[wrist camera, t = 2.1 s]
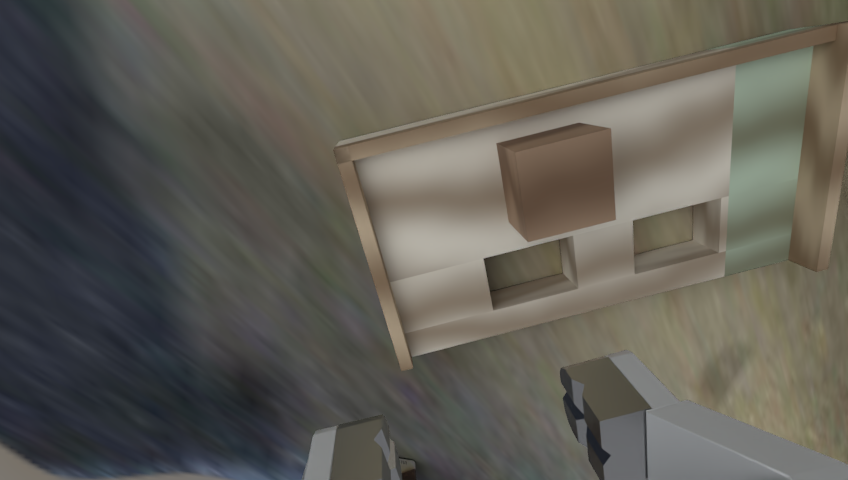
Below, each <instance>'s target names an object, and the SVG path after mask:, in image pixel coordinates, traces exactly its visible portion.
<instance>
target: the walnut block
mask: <svg viewBox="0 0 848 480" xmlns="http://www.w3.org/2000/svg"><path fill="white" fill-rule="evenodd" d="M496 145H497V151H498V157H499V163H500V170H501V176H502V182H503V189H504V195H505V201H506V207H507V214H508V220H509V223H510V224H511V225H512V226H513V227H514V228H515V229H516V230H517V231H518V232H519V233H520V234H521V236H522V237H523V238H524V239H525V240H526V241H527V242H531V241H535V240H539V239H543V238H547V237H551V236H555V235H559V234H563V233H566V232H570V231H574V230H578V229H582V228H586V227H590V226H594V225H598V224H602V223H606V222H610V221H614V220H616V211H615V192H614V174H613V155H612V137H611V128H606V127H601V126H595V125H590V124H584V123H575V124H571V125H567V126H563V127H559V128H555V129H551V130H547V131H543V132H539V133H535V134H532V135H528V136H524V137H520V138H516V139H512V140H508V141H504V142H500V143H496Z"/></svg>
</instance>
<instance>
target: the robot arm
mask: <svg viewBox="0 0 848 480" xmlns="http://www.w3.org/2000/svg"><path fill="white" fill-rule="evenodd" d="M560 378H561V383H562V385H563V386H564V388H565V390H566V391H567V392H566V394H565V396H564V397H563V401H564V407H565V412H566V415H567V418H568V421H569V424H570V426H571V429H572V431H573V433H574V435H575V437H576V438H577V440H578V442H579V443H581V444H582V445H584V446H586V447H587V448H588V457H589V462H590V463H591V465H592V467H593V469H594V470H595V472H596V474H597V476H598V477H599V479H600V480H848V465H847V464H845V463H843V462H841V461H838V460H836V459H833V458H831V457H828V456H826V455H823V454H821V453H818V452H816V451H813V450H811V449H808V448H806V447H803V446H801V445H798V444H796V443H793V442H791V441H788V440H786V439H783V438H781V437H778V436H776V435H773V434H771V433H768V432H766V431H763V430H761V429H758V428H756V427H753V426H751V425H748V424H746V423H744V422H741V421H739V420H736V419H734V418H731V417H729V416H726V415H724V414H721V413H719V412H716V411H714V410H711V409H709V408H706V407H704V406H701V405H699V404H696V403H694V402H691V401H689V400H685V401H681V402H680V401H679V400H678V399H677V398H676V397H675V396H674V395H673V394H672V393H671V392H670V391H669V390H668V389H667V388H666V387H665V386H664V385H663V384H662V383H661V382H660V380H659V379H658V378H657V377H656V376H655V375H654V374H653V373H652V372H651V371H650V370H649V369H648V368H647V367H646V366H645V365H644V364H643V363H642V362H641V361H640V360H639V359H638V358H637V357H636V356H635V355H634V354H633V353H632V352H631V351H629V350H624V351H620V352H617V353H613V354H609V355H606V356H604V357H599V358H596V359H592V360H588V361H585V362H581V363H577V364H573V365H570V366H566V367H562V368H561V370H560ZM304 480H402V472H401V466H400V460H399V456H398V452H397V449H396V446H395V443H394V442H393V441H392V440H390V435H389V425H388V423H387V420H386V418H385V416H384V415H383V414H382V415H378V416H374V417H370V418H365V419H361V420H357V421H352V422H348V423H344V424H340V425H338V426H334V427H329V428H325V429H320V430H316V432H315V434H314V435H313V437H312V442H311V448H310V453H309V458H308V463H307V469H306V474H305V479H304Z"/></svg>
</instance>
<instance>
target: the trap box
mask: <svg viewBox="0 0 848 480" xmlns="http://www.w3.org/2000/svg"><path fill="white" fill-rule="evenodd" d="M575 123H584V124H590V125H595V126H601V127H606V128H611V137H612V155H613V174H614V192H615V211H616V220H614V221H610V222H606V223H602V224H598V225H594V226H590V227H586V228H582V229H578V230H574V231H570V232H566V233H563V234H559V235H555V236H551V237H547V238H543V239H539V240H535V241H531V242H527V241H526V240H525V239H524V238H523V237H522V236H521V234H520V233H519V232H518V231H517V230H516V229H515V228H514V227H513V226H512V225H511V224H510V223H509V220H508V214H507V207H506V201H505V195H504V189H503V182H502V176H501V170H500V163H499V157H498V151H497V145H496V143H500V142H504V141H508V140H512V139H516V138H520V137H524V136H528V135H532V134H535V133H539V132H543V131H547V130H551V129H555V128H559V127H563V126H567V125H571V124H575ZM847 148H848V21H847V22H840V23H833V24H825V25H818V26H811V27H804V28H797V29H789V30H785V31H781V32H777V33H773V34H769V35H765V36H761V37H757V38H753V39H749V40H744V41H740V42H736V43H732V44H728V45H724V46H720V47H716V48H712V49H708V50H704V51H700V52H696V53H692V54H688V55H684V56H680V57H676V58H672V59H668V60H664V61H660V62H656V63H652V64H648V65H644V66H640V67H636V68H632V69H628V70H624V71H620V72H616V73H612V74H608V75H604V76H600V77H596V78H592V79H588V80H584V81H580V82H575V83H571V84H567V85H563V86H559V87H555V88H551V89H547V90H543V91H539V92H535V93H531V94H527V95H523V96H519V97H515V98H511V99H507V100H503V101H499V102H495V103H491V104H487V105H483V106H479V107H475V108H471V109H467V110H463V111H459V112H455V113H451V114H447V115H443V116H439V117H435V118H431V119H427V120H423V121H419V122H415V123H411V124H406V125H402V126H398V127H394V128H390V129H386V130H382V131H378V132H374V133H370V134H366V135H362V136H358V137H354V138H350V139H346V140H342V141H339V142H338V144H337V145H336V147H335V148H334V149H333V151H334V154H335V158H336V161H337V164H338V167H339V171H340V174H341V177H342V180H343V184H344V187H345V190H346V193H347V196H348V200H349V203H350V206H351V209H352V213H353V216H354V219H355V222H356V226H357V229H358V232H359V235H360V238H361V242H362V245H363V248H364V251H365V255H366V258H367V261H368V264H369V268H370V271H371V274H372V277H373V280H374V284H375V287H376V290H377V293H378V297H379V300H380V303H381V306H382V310H383V313H384V316H385V319H386V322H387V326H388V329H389V332H390V335H391V339H392V342H393V345H394V348H395V352H396V355H397V358H398V361H399V364H400V368H401V371H404V370H408V369H412V368H413V363H412V357H414V356H418V355H422V354H426V353H429V352H433V351H437V350H441V349H445V348H449V347H453V346H457V345H460V344H464V343H468V342H472V341H476V340H480V339H484V338H488V337H491V336H495V335H499V334H503V333H507V332H511V331H515V330H519V329H522V328H526V327H530V326H534V325H538V324H542V323H546V322H550V321H553V320H557V319H561V318H565V317H569V316H573V315H577V314H581V313H584V312H588V311H592V310H596V309H600V308H604V307H608V306H612V305H615V304H619V303H623V302H627V301H631V300H635V299H639V298H643V297H646V296H650V295H654V294H658V293H662V292H666V291H670V290H674V289H677V288H681V287H685V286H689V285H693V284H697V283H701V282H705V281H708V280H712V279H716V278H720V277H724V276H728V275H732V274H736V273H740V272H743V271H747V270H751V269H755V268H759V267H763V266H767V265H771V264H774V263H778V262H782V261H786V260H789V261H792V262H794V263H797V264H799V265H801V266H804V267H806V268H808V269H811V270H813V271H815V272H818V271H822V270H826V269H828V267H829V260H830V254H831V248H832V242H833V235H834V229H835V223H836V217H837V211H838V204H839V198H840V192H841V186H842V179H843V173H844V167H845V161H846V155H847ZM692 205H693V240H691V241H687V242H683V243H679V244H675V245H671V246H667V247H663V248H659V249H656V250H652V251H648V252H644V253H640V254H636V255H634V241H633V220H637V219H641V218H645V217H648V216H652V215H656V214H660V213H664V212H668V211H672V210H676V209H680V208H684V207H688V206H692ZM558 239H559V242H560V251H561V260H562V269H563V273H562V274H558V275H554V276H550V277H546V278H542V279H538V280H535V281H531V282H527V283H523V284H519V285H515V286H511V287H507V288H503V289H499V290H495V291H492V292H490V290H489V285H488V280H487V275H486V269H485V264H484V258H488V257H491V256H495V255H499V254H503V253H507V252H511V251H515V250H519V249H523V248H527V247H531V246H535V245H539V244H542V243H546V242H550V241H554V240H558Z"/></svg>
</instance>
